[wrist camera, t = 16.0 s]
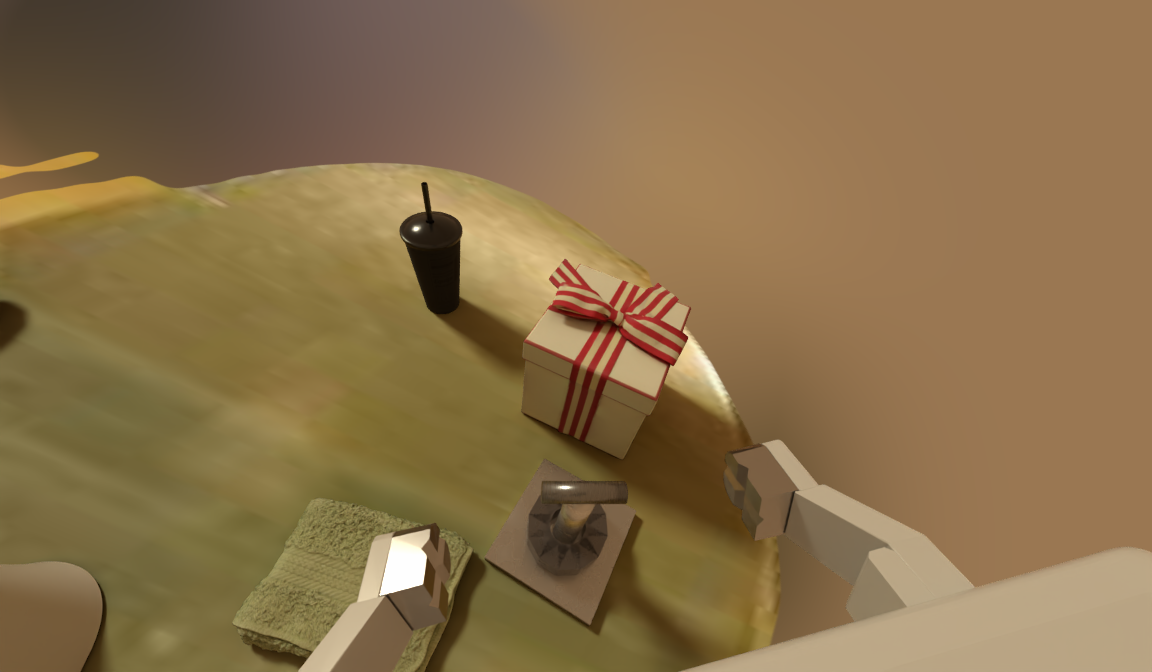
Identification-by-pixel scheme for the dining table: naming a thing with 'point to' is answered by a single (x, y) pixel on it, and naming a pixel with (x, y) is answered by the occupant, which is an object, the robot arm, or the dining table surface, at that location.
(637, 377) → the gift box
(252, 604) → the washcloth
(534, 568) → the chuck socket
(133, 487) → the dining table surface
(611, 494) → the chuck key
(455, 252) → the drinking cup
